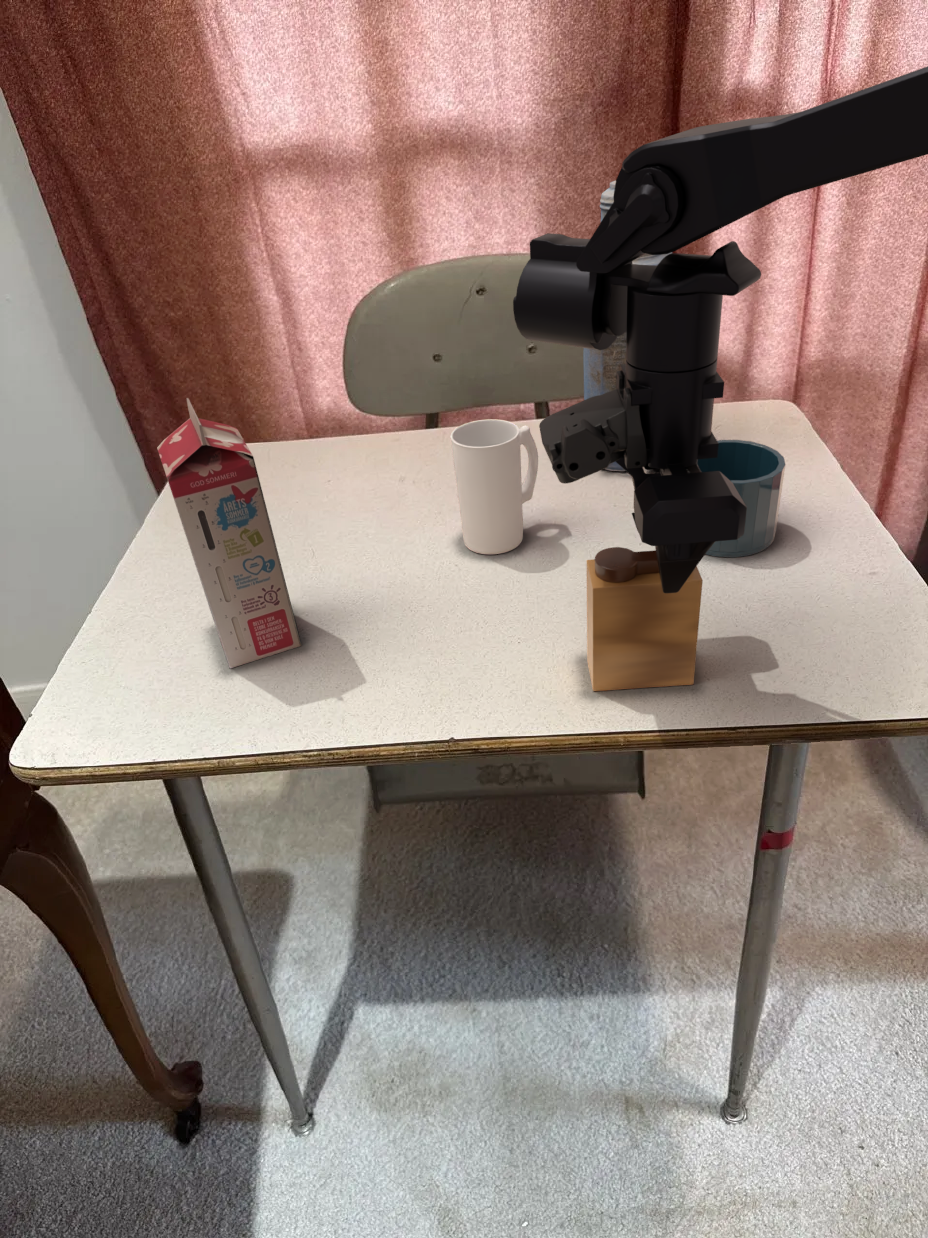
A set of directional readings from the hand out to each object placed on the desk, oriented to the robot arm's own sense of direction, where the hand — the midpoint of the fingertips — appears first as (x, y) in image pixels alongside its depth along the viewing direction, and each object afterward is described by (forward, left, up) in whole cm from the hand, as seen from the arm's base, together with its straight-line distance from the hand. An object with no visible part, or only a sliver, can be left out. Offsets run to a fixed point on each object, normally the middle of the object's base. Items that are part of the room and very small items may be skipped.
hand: (660, 564), depth 63 cm
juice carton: (+35, +9, -10) cm, 37 cm away
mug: (+22, -16, -10) cm, 29 cm away
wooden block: (+1, +1, -10) cm, 10 cm away
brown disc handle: (+1, +1, 0) cm, 1 cm away
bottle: (+17, -38, -10) cm, 43 cm away
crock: (+1, -24, -10) cm, 26 cm away
